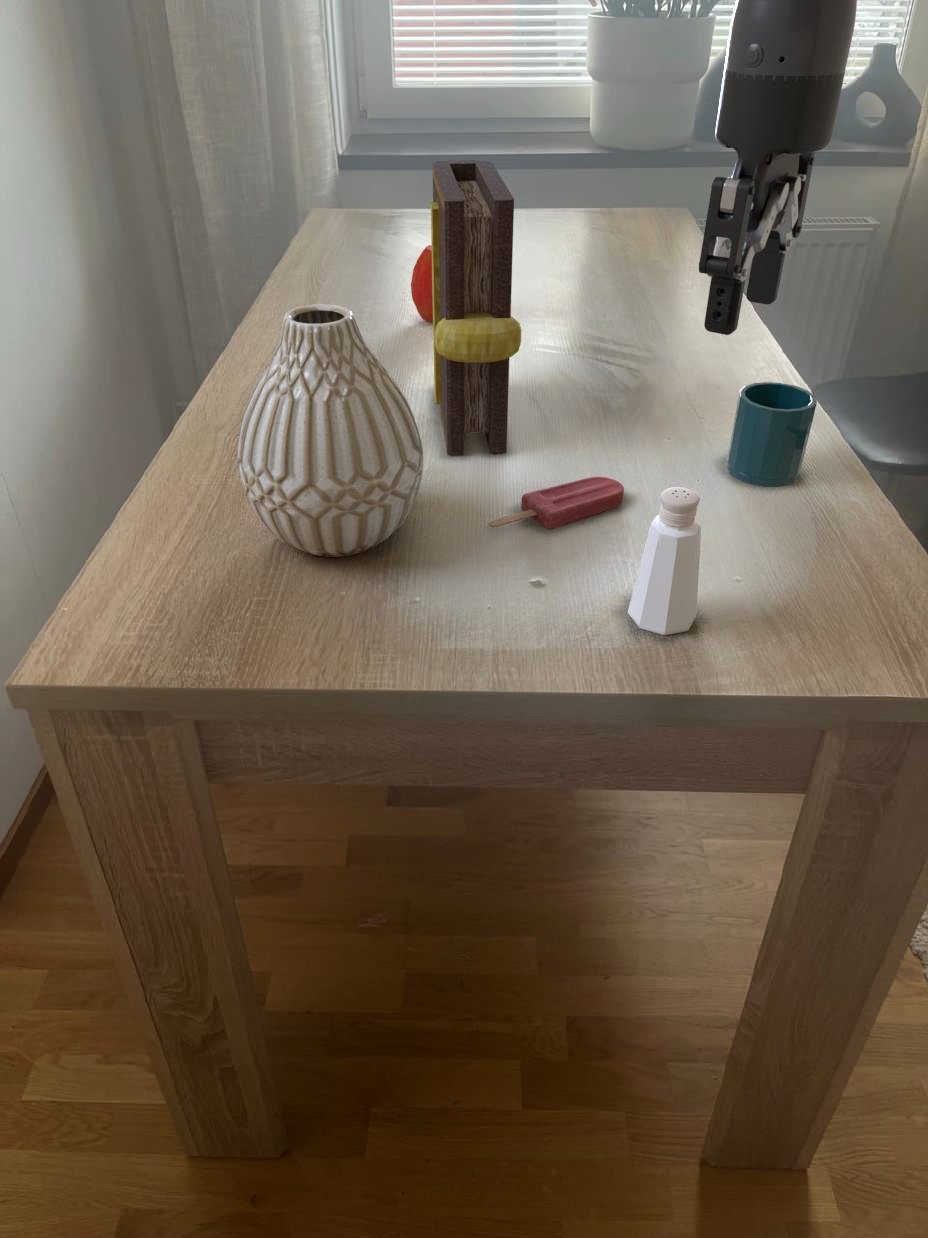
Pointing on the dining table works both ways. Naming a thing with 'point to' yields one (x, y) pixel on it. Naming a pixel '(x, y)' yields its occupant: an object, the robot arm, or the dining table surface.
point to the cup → (770, 433)
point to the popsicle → (567, 502)
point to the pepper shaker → (669, 567)
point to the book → (472, 301)
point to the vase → (328, 439)
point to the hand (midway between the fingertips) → (740, 316)
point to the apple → (423, 285)
